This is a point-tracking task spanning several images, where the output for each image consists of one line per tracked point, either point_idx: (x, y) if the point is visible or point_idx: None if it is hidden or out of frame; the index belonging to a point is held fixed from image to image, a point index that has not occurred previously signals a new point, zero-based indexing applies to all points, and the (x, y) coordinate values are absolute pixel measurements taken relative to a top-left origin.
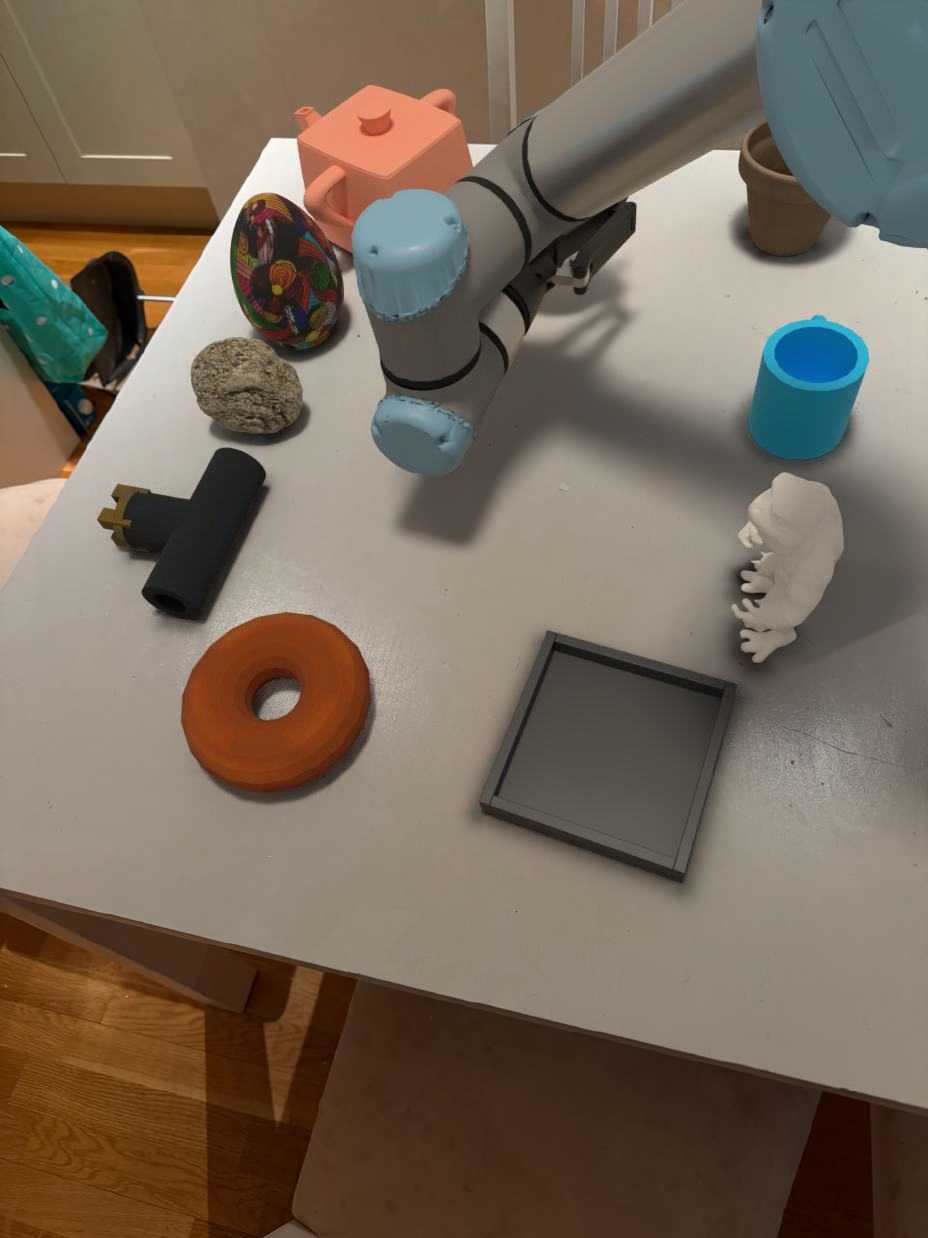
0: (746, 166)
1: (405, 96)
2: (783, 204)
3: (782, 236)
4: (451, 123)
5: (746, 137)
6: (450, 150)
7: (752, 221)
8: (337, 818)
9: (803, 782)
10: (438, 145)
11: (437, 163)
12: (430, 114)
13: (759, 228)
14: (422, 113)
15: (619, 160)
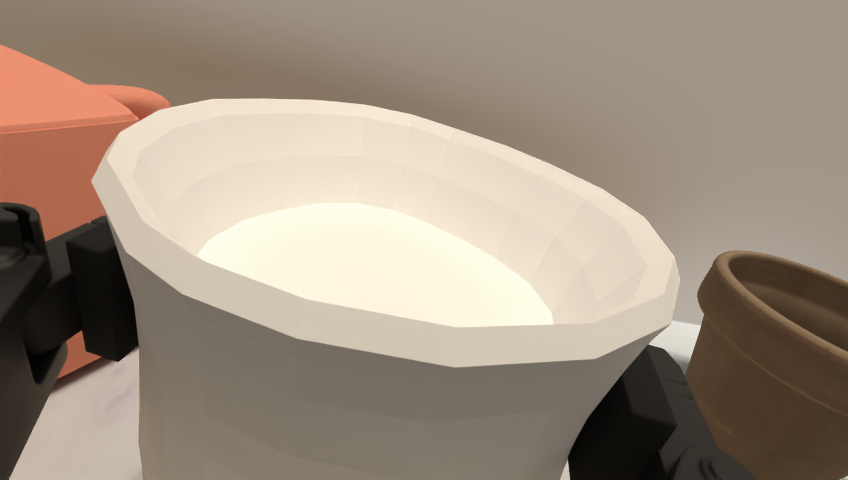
0: (782, 339)
1: (41, 64)
2: None
3: (805, 477)
4: (105, 113)
5: (734, 279)
6: (83, 169)
7: (726, 430)
8: None
9: None
10: (32, 142)
11: (19, 186)
12: (67, 92)
13: (750, 450)
14: (49, 87)
15: None
